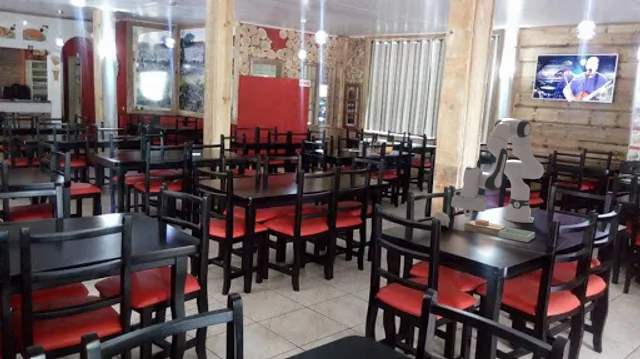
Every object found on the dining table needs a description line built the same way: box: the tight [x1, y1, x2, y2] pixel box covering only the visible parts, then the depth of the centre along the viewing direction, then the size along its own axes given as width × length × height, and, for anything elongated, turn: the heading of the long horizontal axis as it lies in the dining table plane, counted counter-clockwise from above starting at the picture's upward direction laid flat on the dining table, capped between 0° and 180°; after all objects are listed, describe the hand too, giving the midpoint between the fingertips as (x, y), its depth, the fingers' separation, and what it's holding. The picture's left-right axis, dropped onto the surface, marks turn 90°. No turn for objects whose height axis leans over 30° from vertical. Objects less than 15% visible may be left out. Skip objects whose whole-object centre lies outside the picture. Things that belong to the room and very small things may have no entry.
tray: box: [497, 227, 536, 243], centre depth 307 cm, size 15×16×3 cm
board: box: [463, 220, 507, 237], centre depth 317 cm, size 13×20×4 cm, turn 55°
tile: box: [474, 219, 490, 226], centre depth 318 cm, size 6×6×2 cm
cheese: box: [434, 209, 451, 228], centre depth 320 cm, size 15×7×15 cm
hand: (467, 216), depth 323 cm, fingers closed
